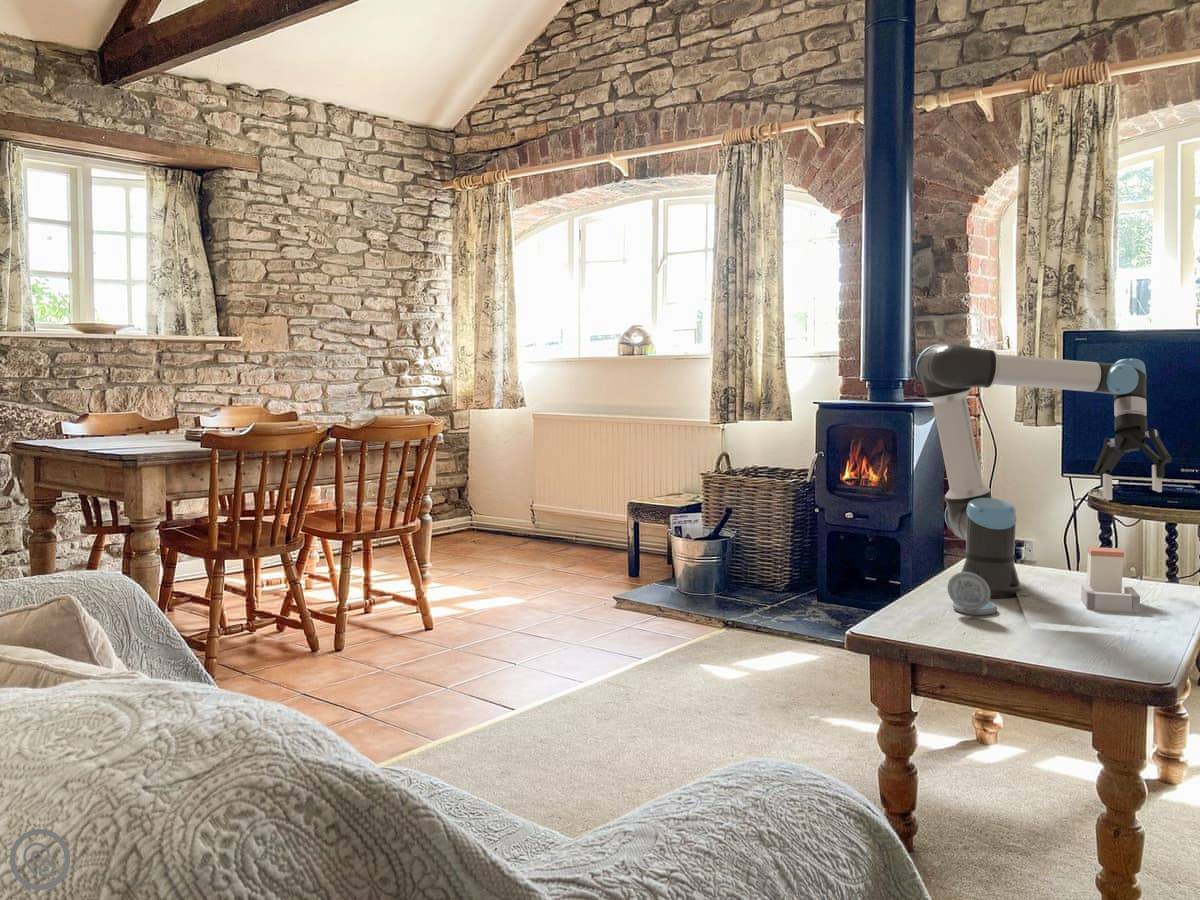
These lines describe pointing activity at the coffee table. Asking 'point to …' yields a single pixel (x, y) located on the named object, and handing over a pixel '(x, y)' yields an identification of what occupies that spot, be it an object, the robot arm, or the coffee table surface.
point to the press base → (1110, 600)
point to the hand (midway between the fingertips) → (1131, 495)
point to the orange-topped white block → (1105, 569)
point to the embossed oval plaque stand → (970, 594)
